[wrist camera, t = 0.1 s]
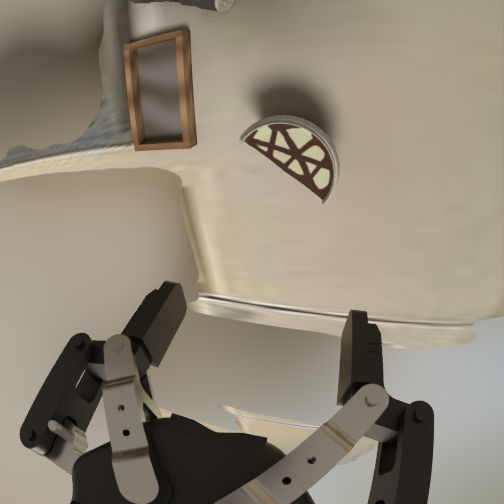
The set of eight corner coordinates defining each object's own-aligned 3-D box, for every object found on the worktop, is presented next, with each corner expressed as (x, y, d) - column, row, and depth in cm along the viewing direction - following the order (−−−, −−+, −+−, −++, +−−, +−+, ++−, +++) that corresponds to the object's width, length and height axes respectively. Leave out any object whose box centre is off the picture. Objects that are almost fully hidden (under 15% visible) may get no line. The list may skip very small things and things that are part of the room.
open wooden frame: (133, 45, 30) (123, 45, 28) (190, 31, 28) (181, 29, 26) (143, 146, 41) (135, 151, 39) (197, 144, 39) (190, 148, 37)
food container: (354, 146, 34) (364, 169, 26) (326, 177, 37) (326, 208, 30) (282, 90, 32) (268, 94, 24) (256, 124, 35) (235, 140, 27)
